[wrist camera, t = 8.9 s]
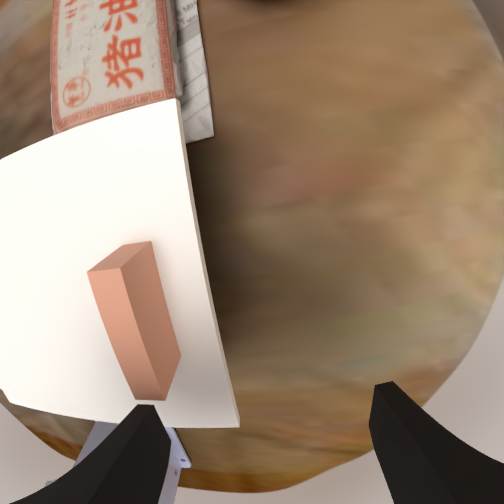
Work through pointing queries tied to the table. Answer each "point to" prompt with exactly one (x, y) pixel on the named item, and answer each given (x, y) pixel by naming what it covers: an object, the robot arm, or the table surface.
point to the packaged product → (127, 61)
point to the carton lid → (109, 277)
